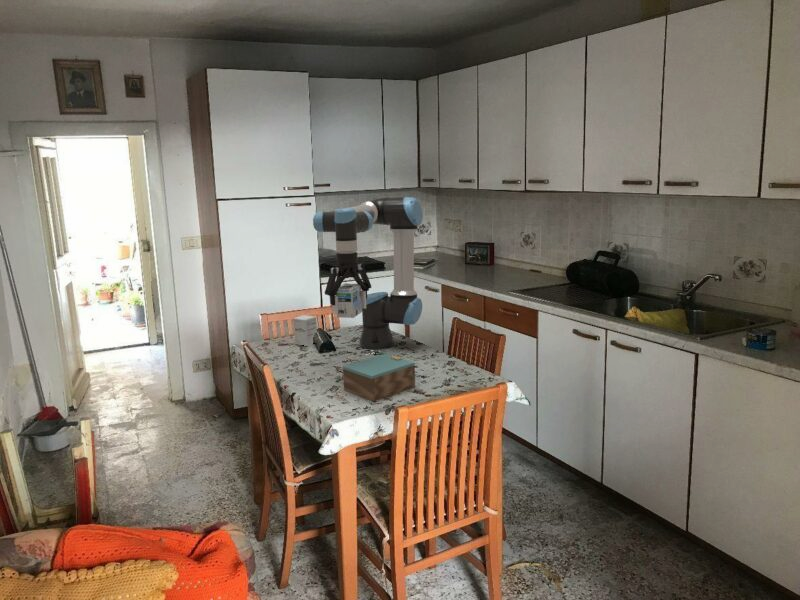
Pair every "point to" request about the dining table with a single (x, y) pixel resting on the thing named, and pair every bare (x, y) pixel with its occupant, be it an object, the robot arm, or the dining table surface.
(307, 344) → the supplement box
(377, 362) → the chest lid
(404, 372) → the walnut chest
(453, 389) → the dining table surface
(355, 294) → the light bulb box
